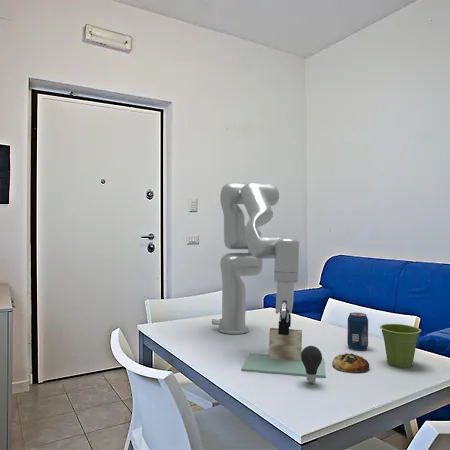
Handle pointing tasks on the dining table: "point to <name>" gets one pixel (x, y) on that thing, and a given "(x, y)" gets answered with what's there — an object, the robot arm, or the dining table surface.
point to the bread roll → (350, 363)
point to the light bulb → (311, 362)
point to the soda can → (357, 331)
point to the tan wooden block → (285, 345)
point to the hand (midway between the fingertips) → (284, 330)
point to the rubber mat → (278, 365)
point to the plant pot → (400, 343)
